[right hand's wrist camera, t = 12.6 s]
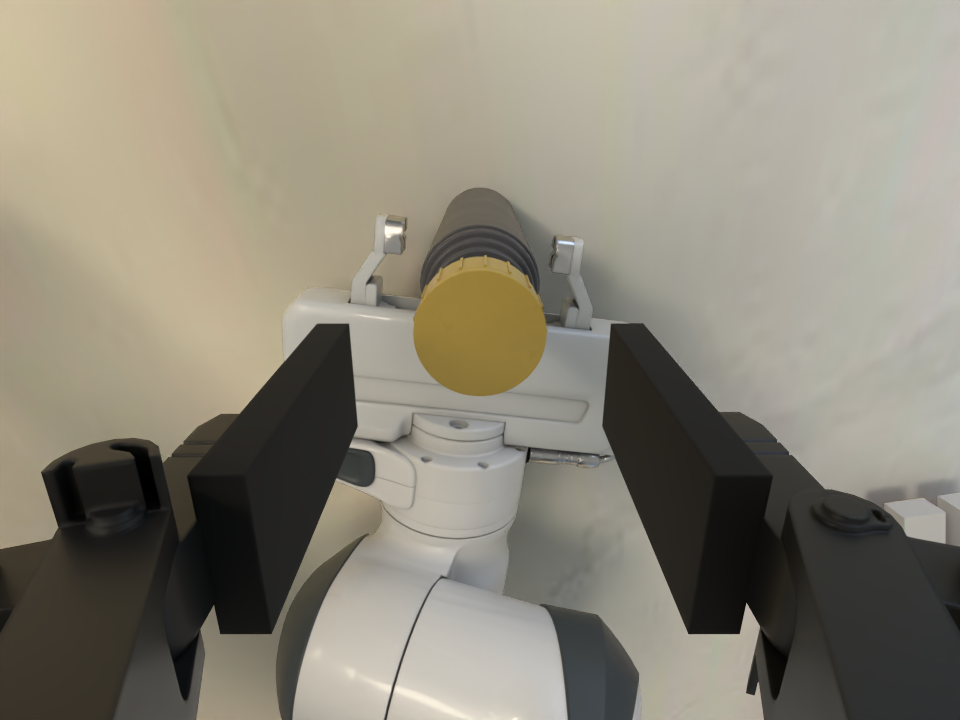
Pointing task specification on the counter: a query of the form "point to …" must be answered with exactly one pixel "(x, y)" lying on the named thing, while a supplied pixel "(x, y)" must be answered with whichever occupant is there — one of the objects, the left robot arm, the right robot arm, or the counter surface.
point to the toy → (929, 518)
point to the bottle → (480, 235)
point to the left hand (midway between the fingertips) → (481, 227)
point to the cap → (479, 327)
